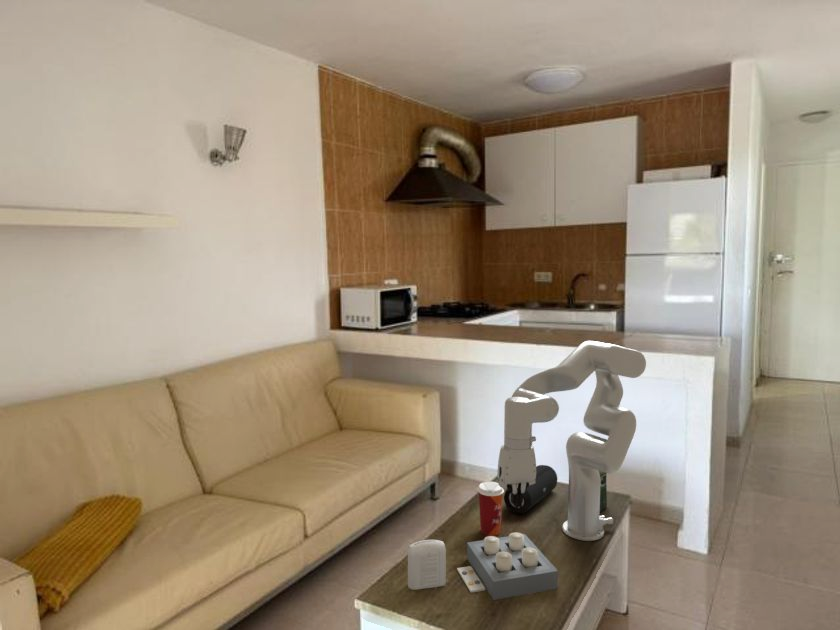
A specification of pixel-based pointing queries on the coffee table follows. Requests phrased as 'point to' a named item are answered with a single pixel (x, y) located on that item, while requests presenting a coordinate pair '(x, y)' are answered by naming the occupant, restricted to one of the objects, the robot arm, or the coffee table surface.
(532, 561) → the button
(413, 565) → the photo printer
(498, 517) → the coffee cup
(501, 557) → the button
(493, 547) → the button
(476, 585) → the card
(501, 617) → the coffee table surface
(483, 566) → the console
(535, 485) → the portable speaker
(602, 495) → the coffee jar
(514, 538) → the button
